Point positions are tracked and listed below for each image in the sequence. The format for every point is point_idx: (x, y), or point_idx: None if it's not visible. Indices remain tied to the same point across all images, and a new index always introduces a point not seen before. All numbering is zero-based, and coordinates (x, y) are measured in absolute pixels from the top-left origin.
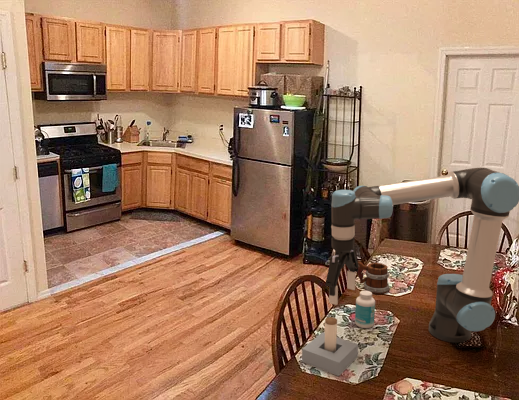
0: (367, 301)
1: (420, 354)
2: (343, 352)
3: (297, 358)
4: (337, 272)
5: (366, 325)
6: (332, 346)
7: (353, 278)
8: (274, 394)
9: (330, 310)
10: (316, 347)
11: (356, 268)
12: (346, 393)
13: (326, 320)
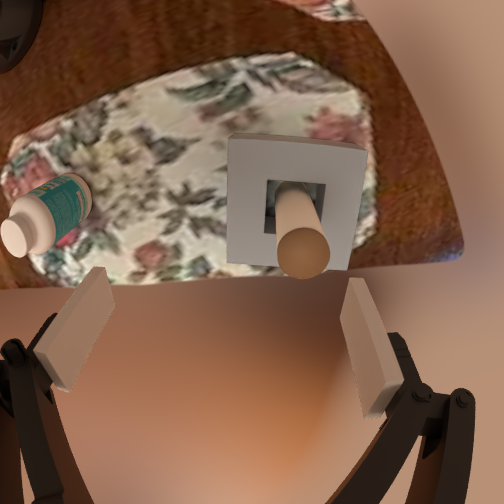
0: (33, 216)
1: (121, 10)
2: (306, 159)
3: None
4: (376, 500)
5: (82, 184)
6: (309, 200)
7: (70, 324)
8: (462, 244)
9: None
10: None
11: (8, 362)
12: (409, 104)
13: (318, 269)
